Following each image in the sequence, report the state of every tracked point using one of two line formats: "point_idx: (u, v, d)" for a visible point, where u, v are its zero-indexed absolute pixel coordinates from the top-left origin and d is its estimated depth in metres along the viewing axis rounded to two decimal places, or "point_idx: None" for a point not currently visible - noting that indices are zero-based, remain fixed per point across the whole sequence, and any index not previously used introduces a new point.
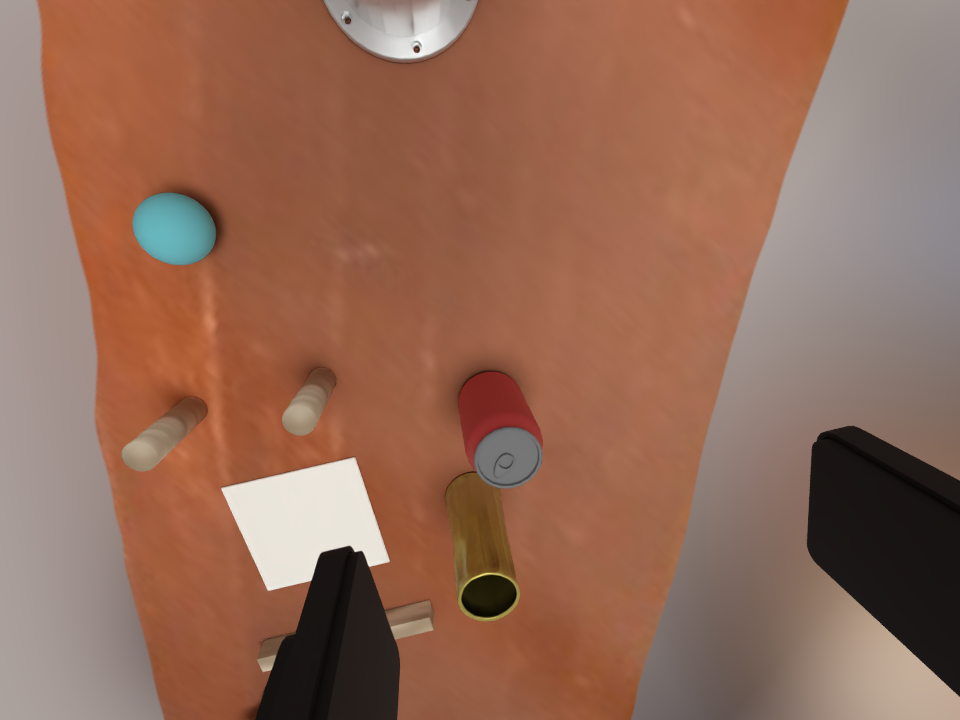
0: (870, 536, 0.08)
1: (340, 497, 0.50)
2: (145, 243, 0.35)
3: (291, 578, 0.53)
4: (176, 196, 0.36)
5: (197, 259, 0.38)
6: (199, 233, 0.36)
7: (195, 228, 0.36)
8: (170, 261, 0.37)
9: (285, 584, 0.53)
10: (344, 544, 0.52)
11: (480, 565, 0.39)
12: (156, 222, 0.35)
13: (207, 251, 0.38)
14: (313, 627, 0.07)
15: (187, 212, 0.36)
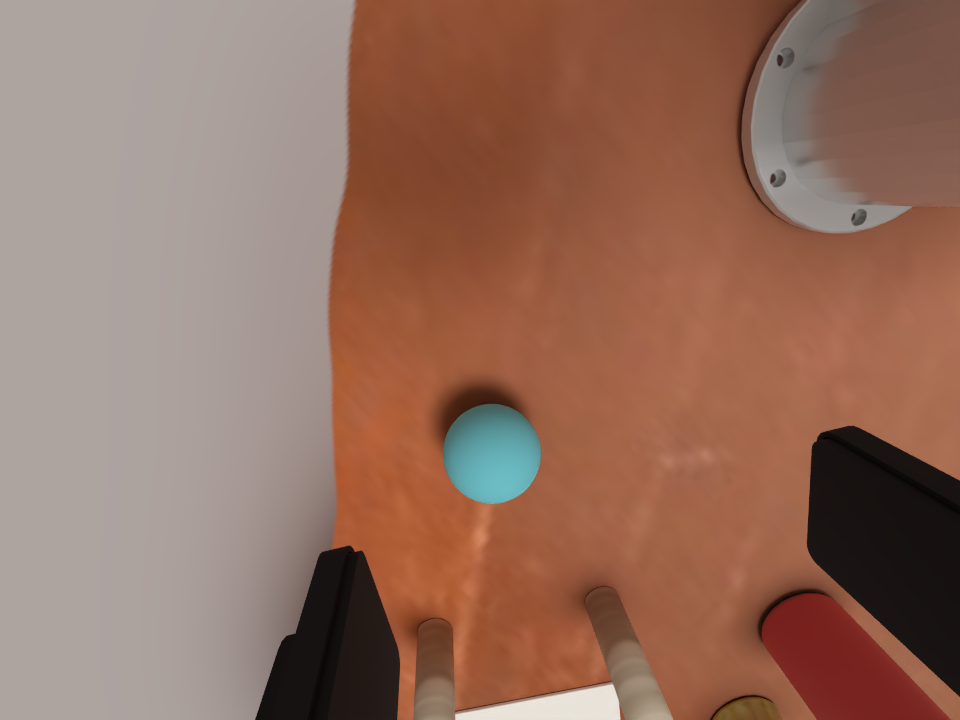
0: (870, 536, 0.08)
1: None
2: (471, 490, 0.25)
3: None
4: (512, 420, 0.25)
5: None
6: (536, 469, 0.26)
7: (535, 466, 0.25)
8: (489, 503, 0.26)
9: None
10: None
11: None
12: (499, 468, 0.24)
13: None
14: (313, 627, 0.07)
15: (530, 446, 0.25)
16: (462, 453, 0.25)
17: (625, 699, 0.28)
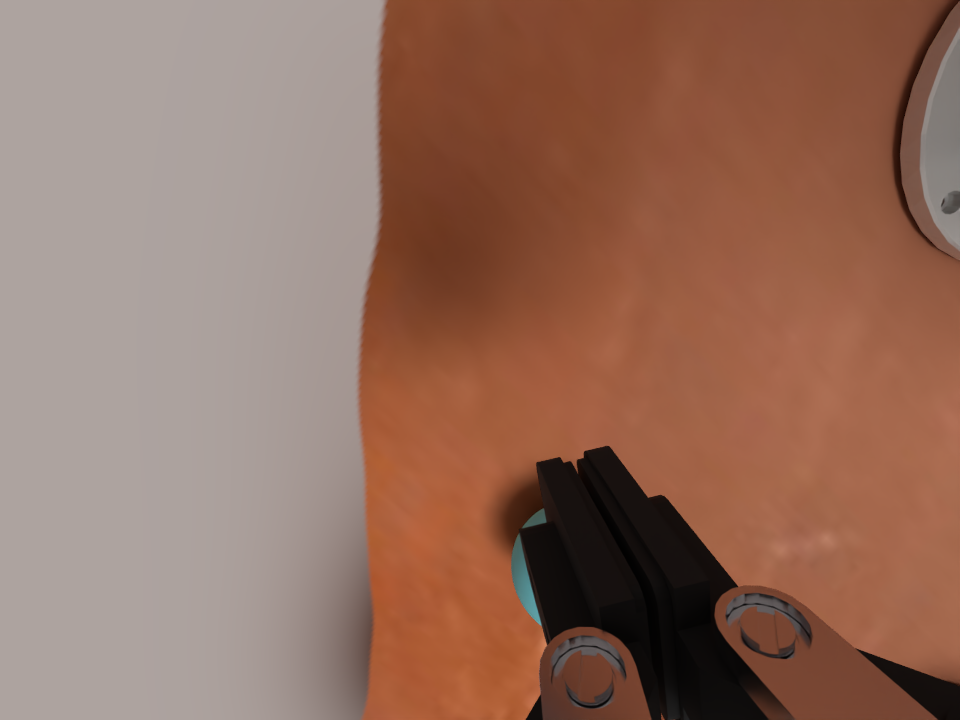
0: None
1: None
2: None
3: None
4: None
5: None
6: None
7: None
8: None
9: None
10: None
11: None
12: None
13: None
14: (572, 507, 0.08)
15: None
16: None
17: None
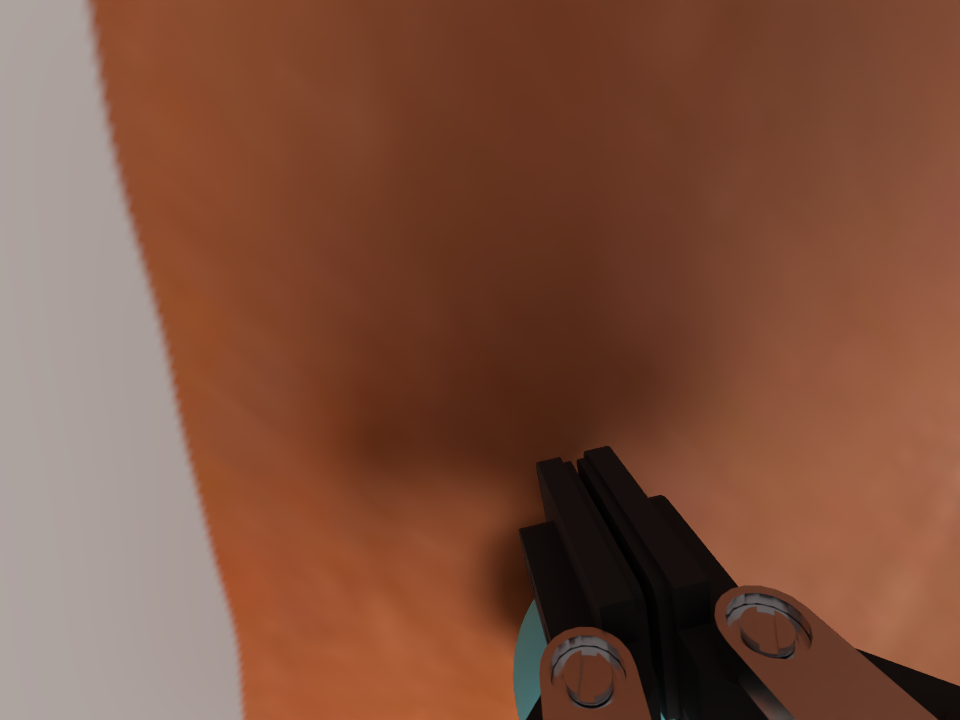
0: None
1: None
2: None
3: None
4: None
5: None
6: None
7: None
8: None
9: None
10: None
11: None
12: None
13: None
14: (572, 507, 0.08)
15: None
16: None
17: None
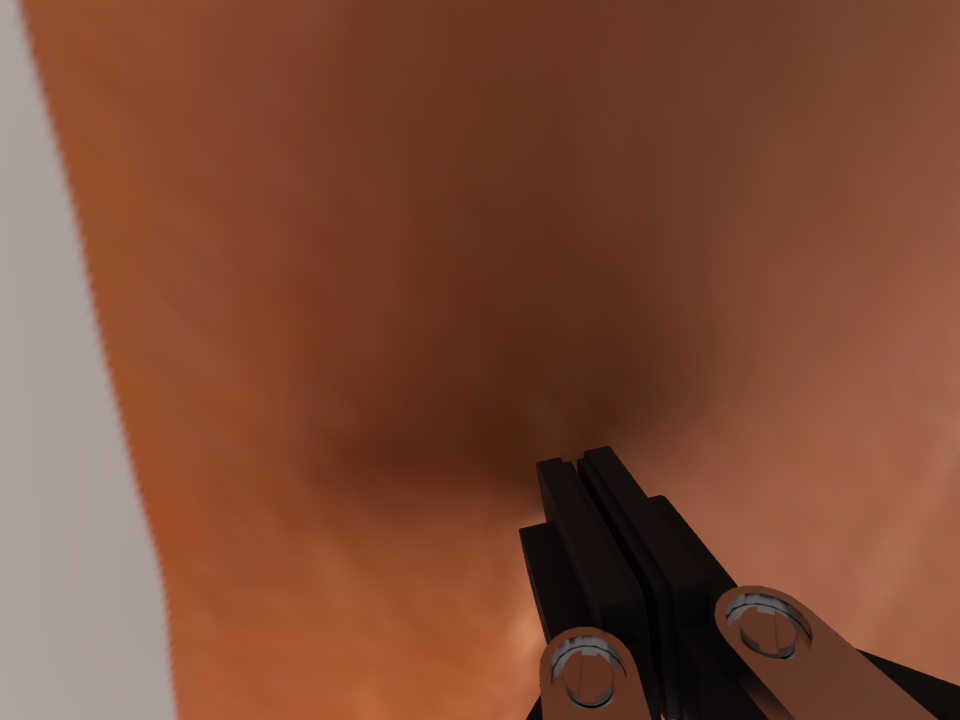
0: None
1: None
2: None
3: None
4: None
5: None
6: None
7: None
8: None
9: None
10: None
11: None
12: None
13: None
14: (572, 507, 0.08)
15: None
16: None
17: None
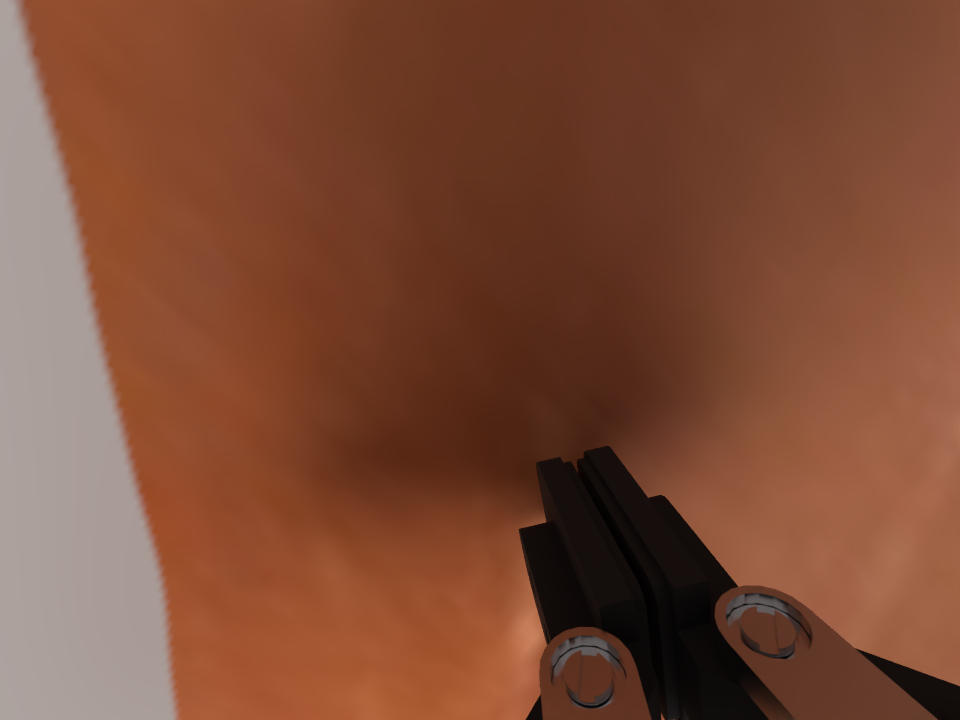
0: None
1: None
2: None
3: None
4: None
5: None
6: None
7: None
8: None
9: None
10: None
11: None
12: None
13: None
14: (572, 507, 0.08)
15: None
16: None
17: None
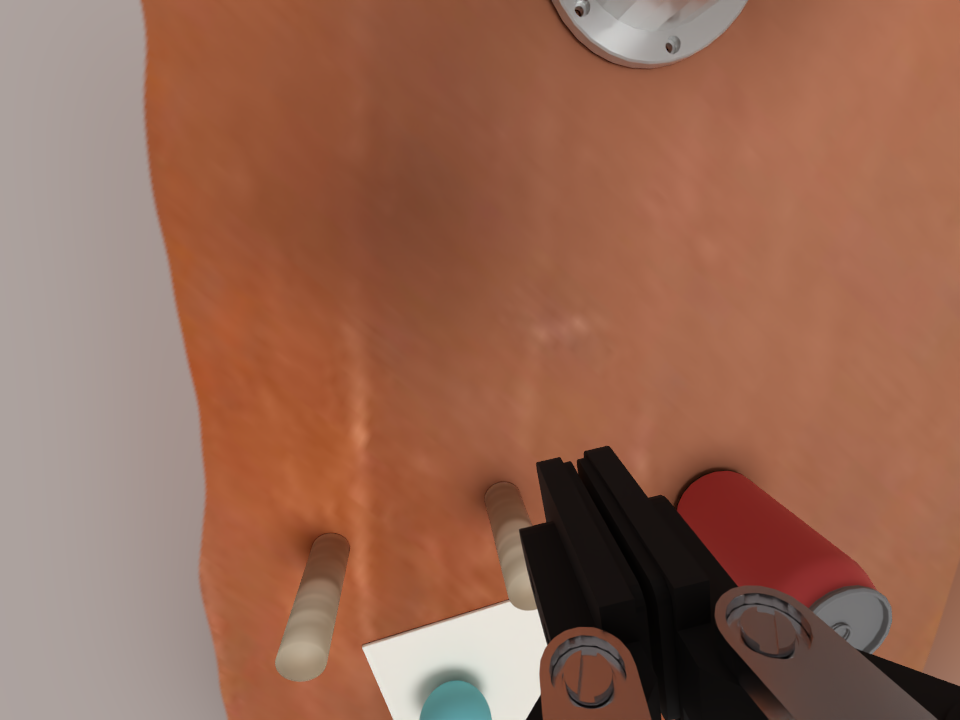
0: None
1: (514, 644, 0.38)
2: None
3: None
4: None
5: None
6: (483, 716, 0.35)
7: (481, 709, 0.35)
8: None
9: None
10: (515, 701, 0.39)
11: None
12: (450, 697, 0.35)
13: None
14: (572, 507, 0.08)
15: (475, 692, 0.36)
16: (428, 699, 0.36)
17: (505, 568, 0.26)
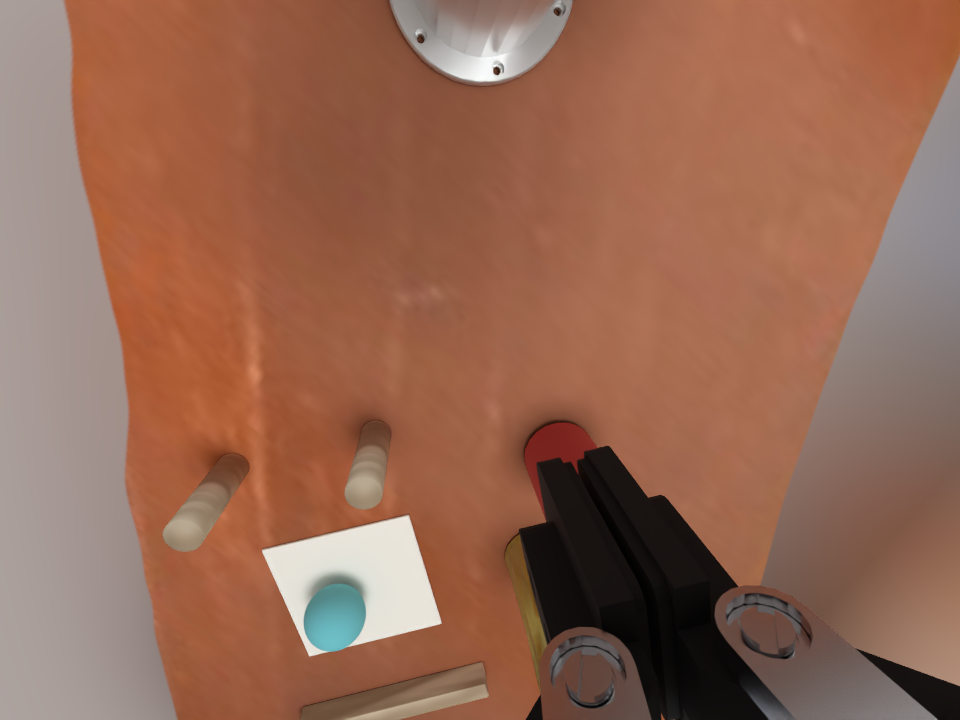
0: None
1: (391, 557, 0.46)
2: (311, 613, 0.42)
3: None
4: (348, 585, 0.45)
5: (342, 638, 0.41)
6: (355, 608, 0.43)
7: (354, 603, 0.43)
8: (321, 634, 0.41)
9: None
10: (393, 606, 0.47)
11: None
12: (329, 592, 0.43)
13: (352, 632, 0.42)
14: (572, 508, 0.08)
15: (353, 591, 0.44)
16: (314, 595, 0.44)
17: None
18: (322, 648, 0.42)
